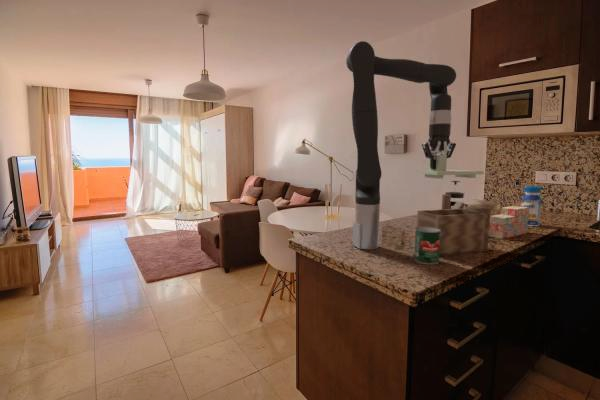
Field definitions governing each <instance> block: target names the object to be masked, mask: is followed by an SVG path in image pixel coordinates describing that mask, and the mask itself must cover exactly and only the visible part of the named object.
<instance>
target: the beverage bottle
mask: <svg viewBox="0 0 600 400" xmlns="http://www.w3.org/2000/svg"><path fill="white" fill-rule="evenodd" d="M541 190H542V187H541V186H537V185H526V186H524V190H523V192H524V193H525V194H524V195H523V196H522V198H521V200H522V202H521V203H520V207H529V217H528V225H527V227H533V226H535V227H540V219H541V210H542V200H543V199H542V197H541V195H540V194H541V192H542V191H541Z"/></svg>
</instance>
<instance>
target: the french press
mask: <svg viewBox="0 0 600 400" xmlns="http://www.w3.org/2000/svg"><path fill="white" fill-rule="evenodd" d="M451 182H452V183H454V190H457V189H456V186H457V183H461V181H460V180H451ZM444 194H449V195H451V199H453V201H451V202H450V209H452V207H453V206H454V205H455V204H456V202H457V201H456V199H463V198H464V197H465V193H464V192H461V191H448V192H446V191H445V193H444ZM466 206H469V204H467V203H465V202H463V209H466Z"/></svg>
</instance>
